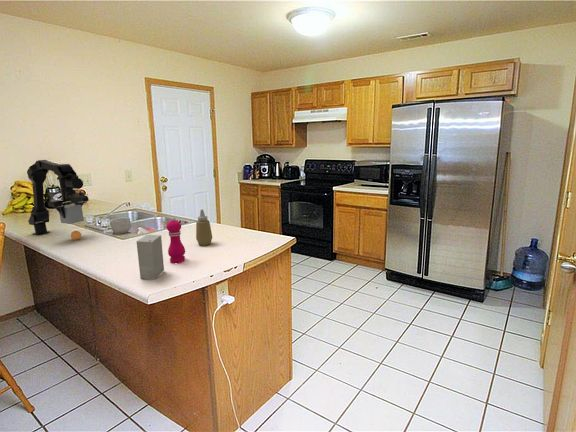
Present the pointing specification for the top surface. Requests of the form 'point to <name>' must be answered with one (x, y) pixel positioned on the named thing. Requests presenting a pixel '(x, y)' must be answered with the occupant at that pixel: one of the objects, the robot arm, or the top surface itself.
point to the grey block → (72, 214)
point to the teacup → (120, 225)
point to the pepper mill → (175, 242)
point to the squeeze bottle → (203, 230)
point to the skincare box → (150, 256)
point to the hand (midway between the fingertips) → (71, 216)
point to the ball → (75, 235)
